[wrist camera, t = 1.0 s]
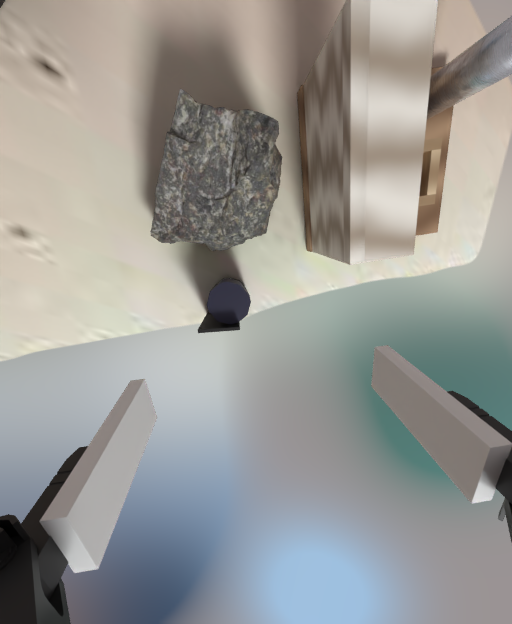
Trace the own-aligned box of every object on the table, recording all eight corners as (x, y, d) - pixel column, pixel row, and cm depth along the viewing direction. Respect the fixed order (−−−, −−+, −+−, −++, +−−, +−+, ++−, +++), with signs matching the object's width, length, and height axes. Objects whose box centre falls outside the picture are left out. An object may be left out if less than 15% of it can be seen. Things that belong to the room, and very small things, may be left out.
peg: (407, 86, 30) (541, -20, 17) (437, 82, 30) (594, -26, 17) (404, 124, 31) (526, 54, 18) (433, 120, 32) (575, 48, 19)
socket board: (297, 93, 31) (347, -9, 17) (445, 74, 32) (604, -38, 18) (306, 250, 38) (347, 265, 24) (427, 231, 39) (532, 235, 25)
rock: (304, 110, 29) (176, 46, 25) (325, 157, 21) (144, 78, 17) (252, 232, 43) (165, 206, 39) (254, 287, 35) (145, 262, 31)
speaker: (239, 324, 41) (239, 347, 31) (206, 315, 40) (196, 335, 30) (252, 282, 40) (257, 292, 29) (218, 271, 39) (211, 278, 29)
